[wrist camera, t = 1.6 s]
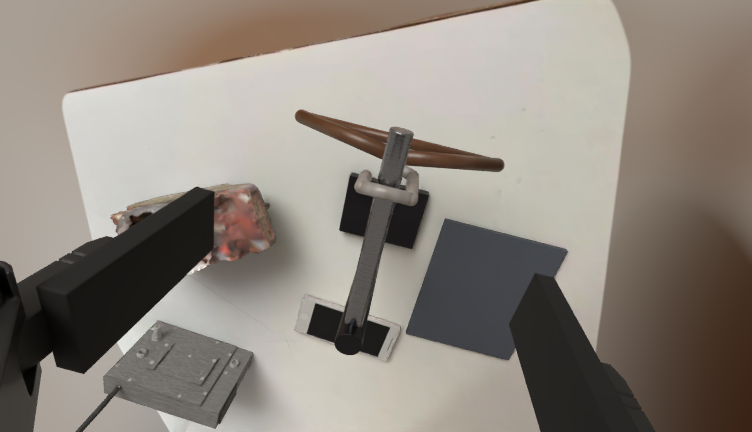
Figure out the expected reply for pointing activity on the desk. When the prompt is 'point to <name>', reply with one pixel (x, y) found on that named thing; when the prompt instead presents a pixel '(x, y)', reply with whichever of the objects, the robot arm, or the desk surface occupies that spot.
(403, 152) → the rail stand
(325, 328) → the smartphone
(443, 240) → the felt mat
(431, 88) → the desk surface
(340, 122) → the hanger
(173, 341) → the electronic device
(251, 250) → the decorative box
